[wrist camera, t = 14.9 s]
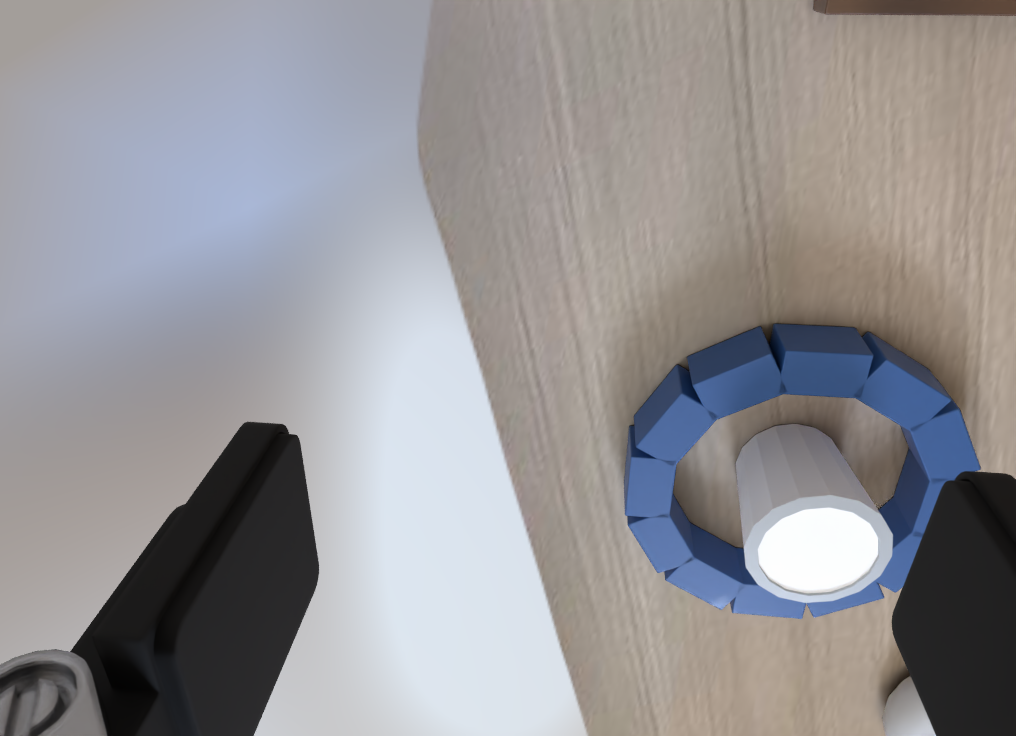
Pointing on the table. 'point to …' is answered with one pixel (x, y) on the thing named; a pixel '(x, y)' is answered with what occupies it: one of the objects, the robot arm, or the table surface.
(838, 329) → the ring
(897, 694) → the donut
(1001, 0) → the platform
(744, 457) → the white cylinder
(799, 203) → the table surface
